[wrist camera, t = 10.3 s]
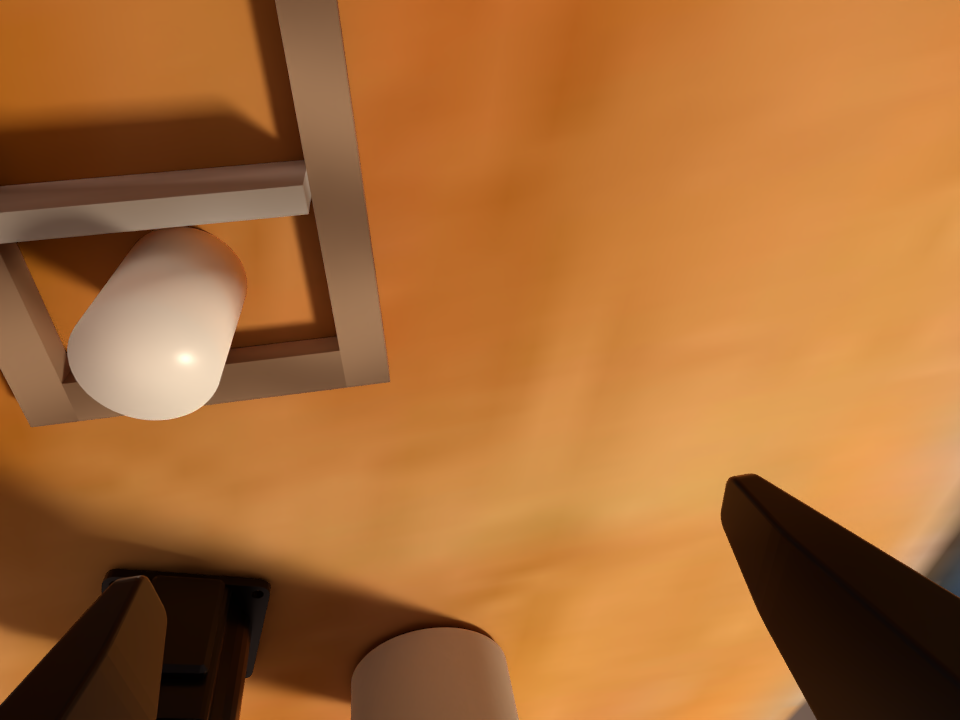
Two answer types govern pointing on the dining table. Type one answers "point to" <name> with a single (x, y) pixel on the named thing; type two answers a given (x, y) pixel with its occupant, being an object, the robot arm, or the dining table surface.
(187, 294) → the cylinder
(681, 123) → the dining table surface
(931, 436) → the dining table surface
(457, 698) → the travel mug
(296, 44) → the ladder
